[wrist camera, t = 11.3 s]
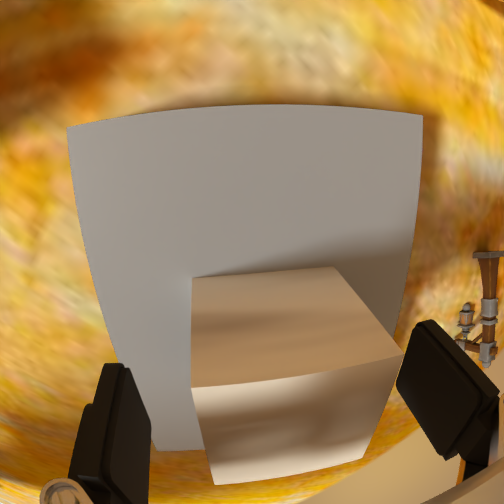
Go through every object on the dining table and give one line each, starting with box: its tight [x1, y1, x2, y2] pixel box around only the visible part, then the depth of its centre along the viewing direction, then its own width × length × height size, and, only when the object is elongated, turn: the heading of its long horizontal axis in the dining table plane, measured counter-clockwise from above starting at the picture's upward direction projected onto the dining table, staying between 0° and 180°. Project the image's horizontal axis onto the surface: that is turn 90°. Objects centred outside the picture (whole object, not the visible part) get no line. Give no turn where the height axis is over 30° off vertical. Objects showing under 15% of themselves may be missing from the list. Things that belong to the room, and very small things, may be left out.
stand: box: [67, 104, 423, 451], centre depth 14 cm, size 16×12×4 cm
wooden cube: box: [191, 266, 404, 485], centre depth 10 cm, size 5×5×5 cm
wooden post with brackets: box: [454, 251, 504, 368], centre depth 18 cm, size 2×8×4 cm, turn 0°
